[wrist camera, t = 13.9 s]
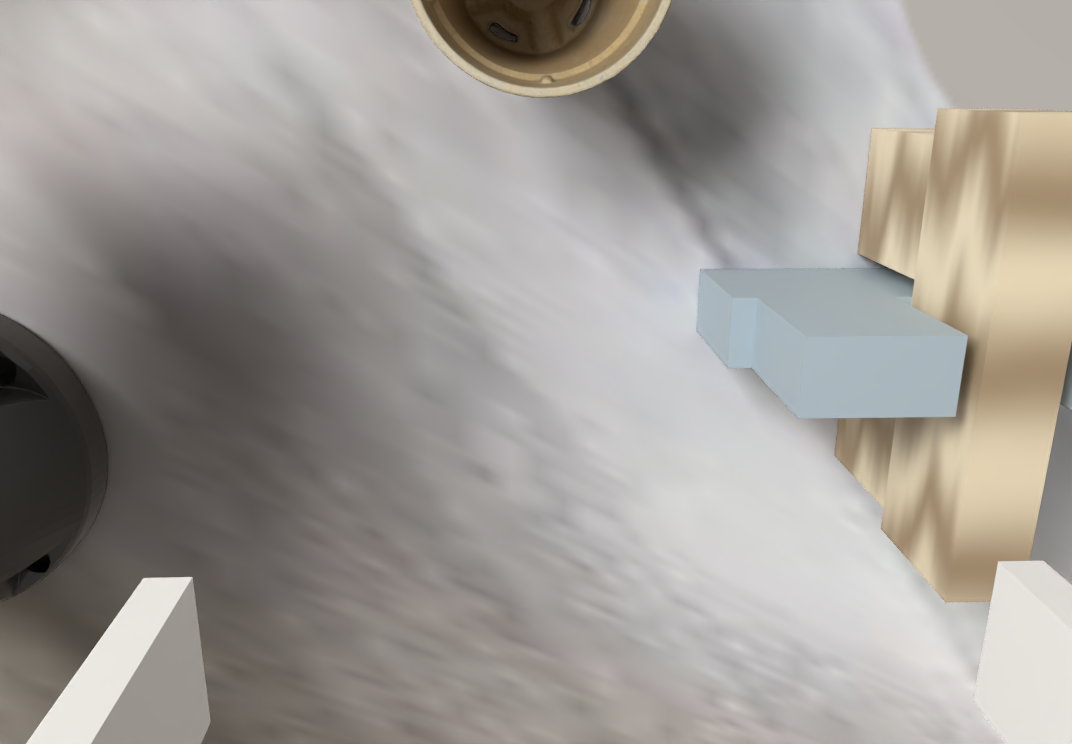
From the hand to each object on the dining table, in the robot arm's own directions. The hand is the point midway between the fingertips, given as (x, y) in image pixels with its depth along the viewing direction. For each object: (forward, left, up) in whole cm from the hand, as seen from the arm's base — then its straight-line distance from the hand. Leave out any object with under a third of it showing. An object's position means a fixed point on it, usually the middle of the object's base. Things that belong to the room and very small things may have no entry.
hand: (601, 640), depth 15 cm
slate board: (+17, -1, -29) cm, 33 cm away
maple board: (+17, -1, -29) cm, 33 cm away
